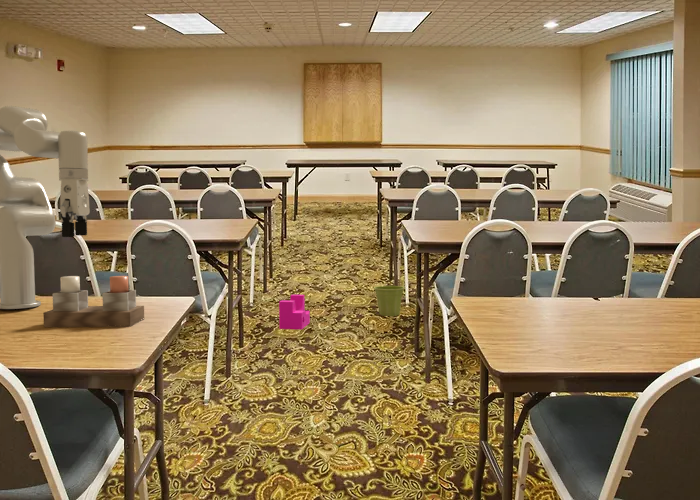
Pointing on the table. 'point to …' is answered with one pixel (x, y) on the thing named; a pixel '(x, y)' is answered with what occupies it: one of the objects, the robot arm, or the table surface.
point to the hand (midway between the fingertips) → (74, 236)
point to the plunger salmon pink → (119, 284)
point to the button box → (93, 310)
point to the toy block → (293, 313)
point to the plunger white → (70, 284)
